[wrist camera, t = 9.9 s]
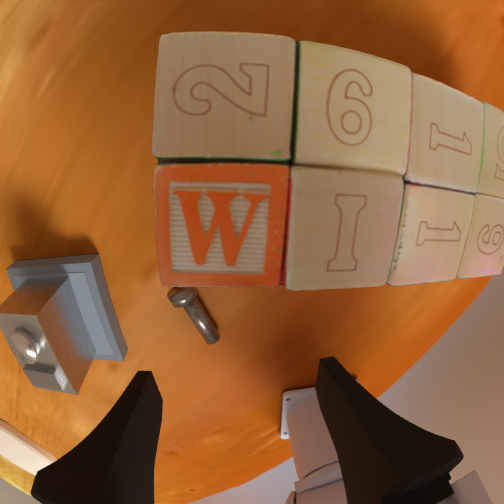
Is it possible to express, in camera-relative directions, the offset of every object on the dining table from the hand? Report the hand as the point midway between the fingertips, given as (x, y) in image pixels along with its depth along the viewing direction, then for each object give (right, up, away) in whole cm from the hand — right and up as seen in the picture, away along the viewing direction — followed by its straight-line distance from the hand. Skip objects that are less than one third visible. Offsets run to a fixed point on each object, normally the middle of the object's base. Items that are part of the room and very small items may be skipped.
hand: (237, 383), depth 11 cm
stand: (-15, +1, +9) cm, 17 cm away
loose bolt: (-3, +1, +10) cm, 11 cm away
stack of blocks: (+8, +12, +7) cm, 16 cm away
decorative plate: (-48, -34, +21) cm, 63 cm away
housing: (-15, 0, +7) cm, 16 cm away
